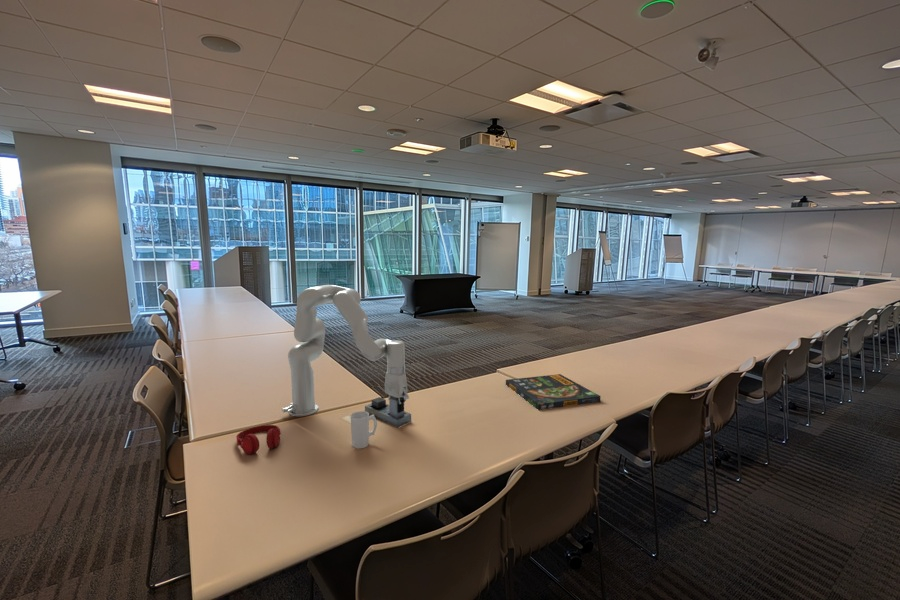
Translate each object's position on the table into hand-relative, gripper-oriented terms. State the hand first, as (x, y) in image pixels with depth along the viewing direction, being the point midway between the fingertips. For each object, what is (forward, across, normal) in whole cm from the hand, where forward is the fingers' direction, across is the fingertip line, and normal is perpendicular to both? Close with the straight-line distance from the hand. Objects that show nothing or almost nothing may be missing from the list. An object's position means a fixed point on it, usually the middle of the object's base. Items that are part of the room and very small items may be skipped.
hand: (396, 409), depth 164 cm
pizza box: (+7, +36, +76) cm, 84 cm away
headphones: (+6, -27, -47) cm, 54 cm away
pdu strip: (+5, -6, 0) cm, 8 cm away
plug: (+2, 0, 0) cm, 2 cm away
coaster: (+5, -15, -10) cm, 19 cm away
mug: (+6, +5, -21) cm, 22 cm away
